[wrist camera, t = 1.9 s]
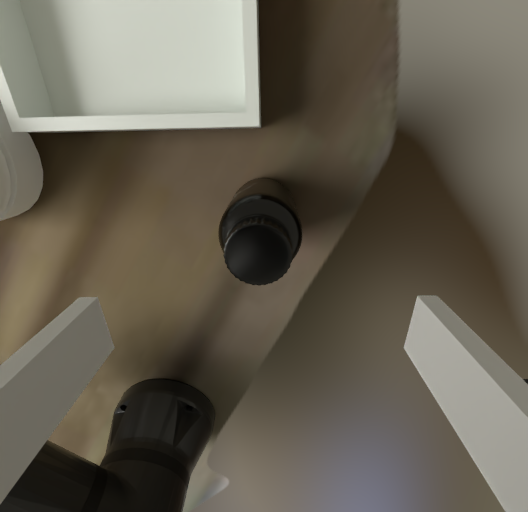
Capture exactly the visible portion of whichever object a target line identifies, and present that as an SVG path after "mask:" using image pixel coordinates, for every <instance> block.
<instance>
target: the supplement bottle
mask: <svg viewBox="0 0 528 512" xmlns="http://www.w3.org/2000/svg"><path fill="white" fill-rule="evenodd" d="M219 242H220V245H221V248H222V250H223V252H224V258H225V263H226V264H227V268H228V269H229V270H230V272H231V273H232V274H233V275H234V276H235V277H236V278H239V280H240V281H244V282H245V283H249V284H252V285H266V284H268V283H273V282H274V281H277V280H278V279H279V278H281V277H283V275H284V274H285V273H287V270H288V269H289V268H290V263H291V262H292V260H293V259H294V258H295V256H296V255H297V253H298V251H299V249H300V246H301V242H302V226H301V222H300V219H299V215H298V212H297V209H296V205H295V202H294V200H293V197H292V195H291V193H290V192H289V191H288V189H287V188H286V187H285V186H284V185H282V184H281V183H279V182H278V181H275V180H272V179H268V178H258V179H254V180H251V181H249V182H247V183H245V184H244V185H243V186H242V187H241V188H240V189H239V190H238V191H237V192H236V194H235V195H234V197H233V199H232V200H231V202H230V204H229V205H228V207H227V209H226V211H225V212H224V214H223V216H222V219H221V221H220V225H219Z"/></svg>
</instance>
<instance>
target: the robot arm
mask: <svg viewBox="0 0 528 512" xmlns="http://www.w3.org/2000/svg"><path fill="white" fill-rule="evenodd" d="M113 349H114V345H113V342H112V339H111V336H110V333H109V330H108V327H107V324H106V321H105V318H104V315H103V312H102V309H101V306H100V303H99V300H98V297H79V298H78V299H77V300H76V301H75V302H74V303H72V304H71V305H70V306H69V307H68V308H67V309H65V310H64V311H63V312H62V313H61V314H60V315H58V316H57V317H56V318H55V319H54V320H53V321H51V322H50V323H49V324H48V325H47V326H46V327H44V328H43V329H42V330H41V331H40V332H39V333H37V334H36V335H35V336H34V337H33V338H32V339H30V340H29V341H28V342H27V343H26V344H25V345H23V346H22V347H21V348H20V349H19V350H18V351H16V352H15V353H14V354H13V355H12V356H11V357H9V358H8V359H7V360H6V361H5V362H4V363H2V364H1V365H0V512H182V511H183V507H184V502H185V498H186V493H187V488H188V484H189V480H190V476H191V473H192V471H193V470H194V468H195V466H196V464H197V462H198V460H199V458H200V456H201V454H202V452H203V451H204V449H205V447H206V445H207V443H208V441H209V439H210V437H211V434H212V430H213V425H214V420H215V413H214V409H213V406H212V405H211V403H210V401H209V400H208V399H207V398H206V397H205V396H204V395H203V394H202V393H201V392H199V391H198V390H196V389H194V388H193V387H191V386H188V385H186V384H183V383H180V382H176V381H172V380H163V379H155V380H147V381H143V382H140V383H137V384H135V385H133V386H132V387H130V388H129V389H128V390H127V391H126V392H125V393H124V394H123V396H122V398H121V400H120V401H119V403H118V405H117V407H116V409H115V412H114V415H113V420H112V425H111V430H110V435H109V439H108V444H107V449H106V454H105V456H104V458H103V460H102V462H101V464H100V466H98V465H96V464H94V463H92V462H90V461H88V460H86V459H84V458H82V457H80V456H78V455H76V454H74V453H72V452H70V451H68V450H66V449H64V448H62V447H60V446H58V445H56V444H54V443H52V442H50V441H48V438H49V437H50V436H51V434H52V433H53V431H54V430H55V429H56V427H57V426H58V425H59V423H60V422H61V420H62V419H63V418H64V416H65V415H66V414H67V412H68V411H69V409H70V408H71V407H72V405H73V404H74V403H75V401H76V400H77V398H78V397H79V396H80V394H81V393H82V392H83V390H84V389H85V388H86V386H87V385H88V383H89V382H90V381H91V379H92V378H93V377H94V375H95V374H96V372H97V371H98V370H99V368H100V367H101V366H102V364H103V363H104V361H105V360H106V359H107V357H108V356H109V355H110V353H111V352H112V350H113ZM404 349H405V351H406V352H407V354H408V356H409V357H410V359H411V360H412V362H413V364H414V365H415V367H416V368H417V370H418V372H419V373H420V375H421V376H422V378H423V380H424V381H425V383H426V384H427V386H428V388H429V389H430V391H431V393H432V394H433V396H434V398H435V399H436V401H437V402H438V404H439V406H440V407H441V409H442V410H443V412H444V414H445V415H446V417H447V418H448V420H449V422H450V423H451V425H452V426H453V428H454V430H455V431H456V433H457V434H458V436H459V438H460V439H461V441H462V443H463V444H464V446H465V447H466V449H467V451H468V452H469V454H470V456H471V457H472V459H473V460H474V462H475V464H476V465H477V467H478V468H479V470H480V472H481V473H482V475H483V477H484V478H485V480H486V481H487V483H488V485H489V486H490V488H491V489H492V491H493V493H494V494H495V496H496V497H497V499H498V501H499V502H500V504H501V505H502V507H503V509H504V510H505V512H528V379H522V378H521V377H520V376H519V375H517V374H516V373H515V372H514V371H513V370H512V369H511V368H510V367H509V366H508V365H507V364H506V363H505V362H504V361H503V360H502V359H501V358H500V357H499V356H498V355H497V354H496V353H495V352H494V351H493V350H492V349H491V348H490V347H489V346H488V345H487V344H486V343H485V342H484V341H483V340H482V339H481V338H479V336H478V335H477V334H476V333H474V332H473V331H472V330H471V329H470V328H469V327H468V326H467V325H466V324H465V323H464V322H463V321H462V320H461V319H460V318H459V317H458V316H457V315H456V314H455V313H454V312H453V311H452V310H451V309H450V308H449V307H448V306H447V305H446V304H445V303H444V302H443V301H441V299H440V298H439V297H438V296H417V299H416V303H415V307H414V311H413V315H412V319H411V322H410V326H409V330H408V334H407V338H406V341H405V346H404Z"/></svg>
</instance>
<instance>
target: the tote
mask: <svg viewBox="0 0 528 512" xmlns="http://www.w3.org/2000/svg"><path fill="white" fill-rule="evenodd" d="M0 101H1V104H2V106H3V109H4V112H5V114H6V117H7V120H8V122H9V125H10V128H11V130H12V132H54V133H59V132H103V131H148V130H192V129H237V128H261V97H260V51H259V5H258V0H0Z"/></svg>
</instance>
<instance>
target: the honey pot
mask: <svg viewBox="0 0 528 512" xmlns="http://www.w3.org/2000/svg"><path fill="white" fill-rule="evenodd" d="M42 187H43V169H42V164H41V160H40V156H39V153H38V151H37V149H36V147H35V145H34V142H33V140H32V138H31V136H30V135H29V134H28V132H12V130H11V128H10V125H9V122H8V120H7V117H6V114H5V112H4V109H3V106H2V104H1V103H0V221H1V220H4V219H8V218H11V217H14V216H17V215H19V214H21V213H23V212H25V211H27V210H29V209H30V208H31V207H32V206H33V205H34V204H35V202H36V201H37V200H38V198H39V195H40V193H41V190H42Z"/></svg>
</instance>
